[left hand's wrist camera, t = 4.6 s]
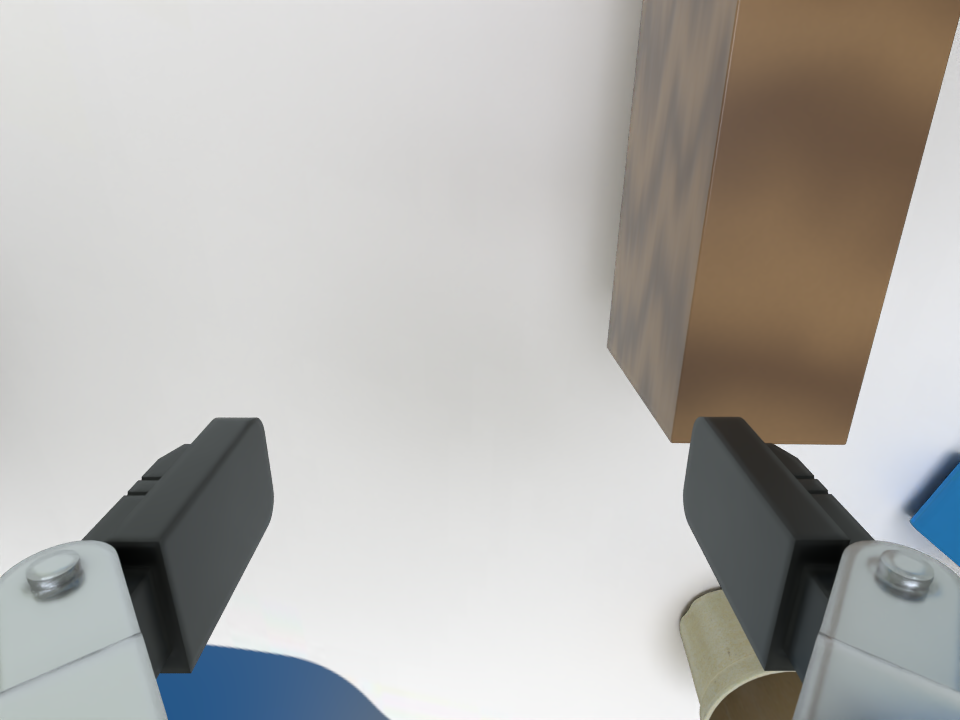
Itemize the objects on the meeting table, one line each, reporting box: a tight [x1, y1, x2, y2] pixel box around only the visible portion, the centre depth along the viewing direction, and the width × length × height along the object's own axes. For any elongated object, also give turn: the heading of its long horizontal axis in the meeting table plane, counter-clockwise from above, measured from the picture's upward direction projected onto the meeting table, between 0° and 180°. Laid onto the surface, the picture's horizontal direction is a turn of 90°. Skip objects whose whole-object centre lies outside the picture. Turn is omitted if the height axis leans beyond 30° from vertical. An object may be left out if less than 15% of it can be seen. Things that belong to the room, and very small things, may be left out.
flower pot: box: [680, 590, 803, 720], centre depth 40 cm, size 9×9×9 cm
